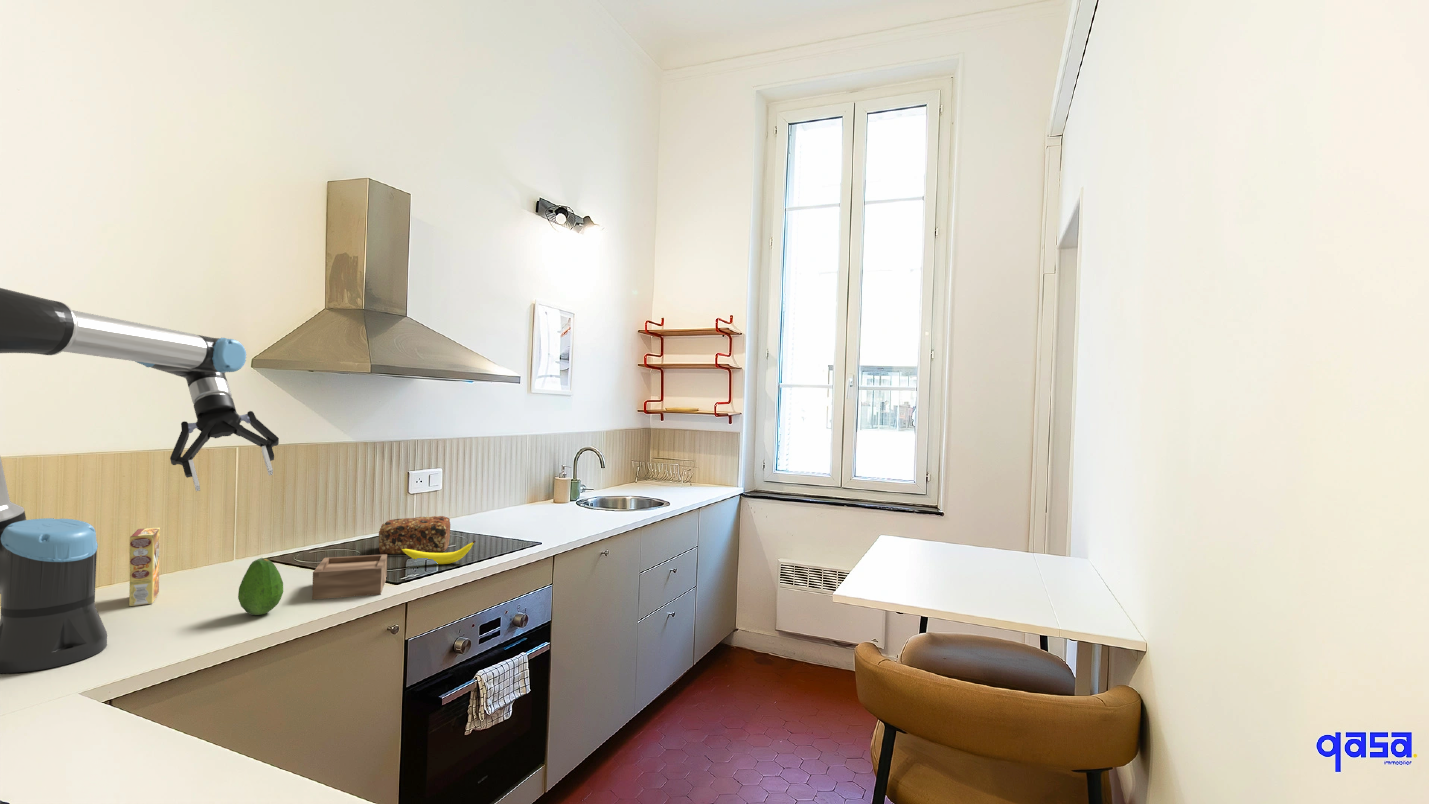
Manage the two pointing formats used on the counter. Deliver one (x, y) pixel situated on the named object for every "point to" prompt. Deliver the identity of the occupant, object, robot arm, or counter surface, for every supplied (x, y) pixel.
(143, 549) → the candy box
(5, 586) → the robot arm
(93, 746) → the counter surface
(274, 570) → the avocado
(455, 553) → the banana
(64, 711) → the counter surface
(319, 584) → the walnut wooden box
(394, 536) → the bread
